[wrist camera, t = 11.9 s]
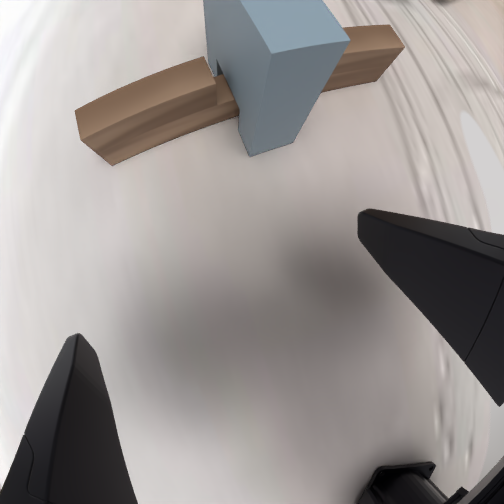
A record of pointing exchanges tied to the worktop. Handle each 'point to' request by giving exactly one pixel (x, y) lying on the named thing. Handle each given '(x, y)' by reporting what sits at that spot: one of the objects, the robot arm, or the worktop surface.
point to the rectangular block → (273, 62)
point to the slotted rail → (206, 97)
